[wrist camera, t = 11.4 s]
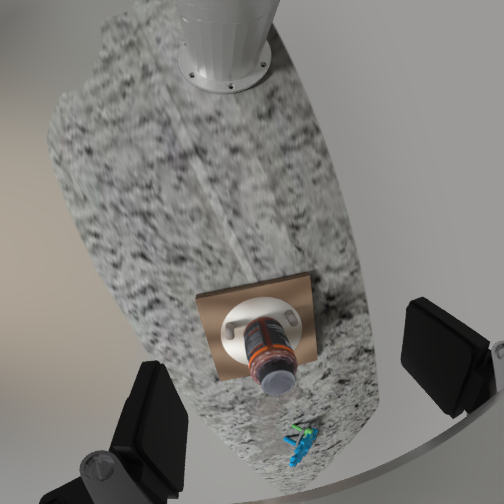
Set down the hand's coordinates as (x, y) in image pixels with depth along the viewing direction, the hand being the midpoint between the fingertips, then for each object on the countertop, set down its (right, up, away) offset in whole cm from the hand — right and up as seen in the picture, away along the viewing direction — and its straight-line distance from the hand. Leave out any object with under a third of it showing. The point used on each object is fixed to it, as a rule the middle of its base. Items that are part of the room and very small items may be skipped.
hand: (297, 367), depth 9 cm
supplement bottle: (0, -8, +30) cm, 31 cm away
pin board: (0, -7, +31) cm, 32 cm away
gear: (+9, -35, +39) cm, 53 cm away
